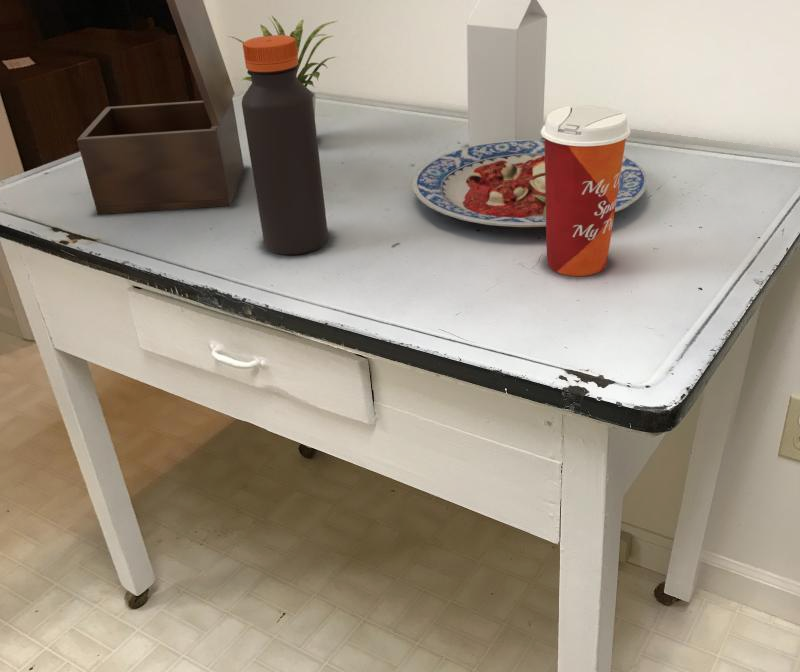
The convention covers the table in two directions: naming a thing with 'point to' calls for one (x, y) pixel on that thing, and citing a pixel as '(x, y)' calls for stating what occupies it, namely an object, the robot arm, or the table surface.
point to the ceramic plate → (503, 183)
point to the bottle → (283, 147)
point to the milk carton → (506, 71)
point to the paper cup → (582, 185)
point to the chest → (161, 157)
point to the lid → (203, 56)
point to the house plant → (297, 36)
